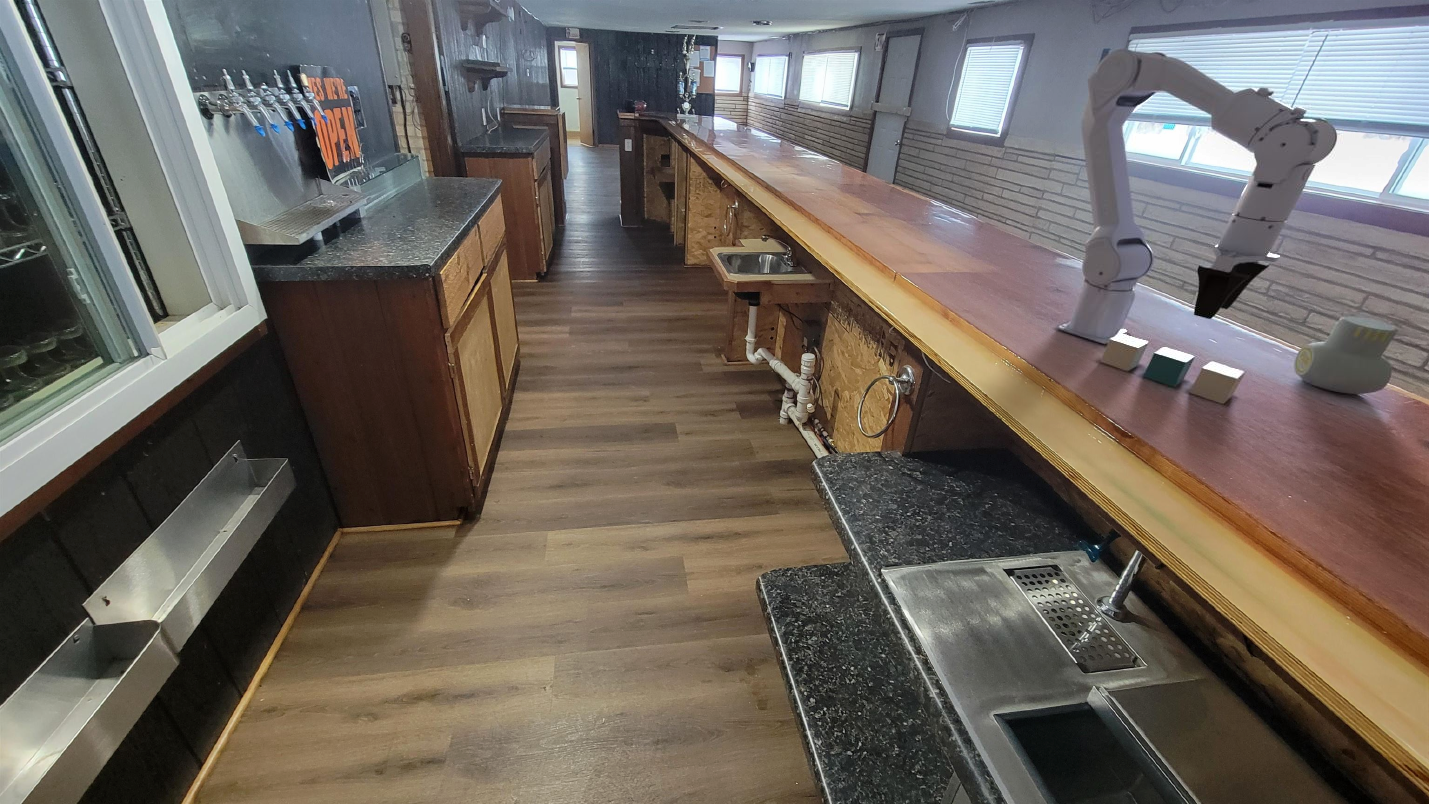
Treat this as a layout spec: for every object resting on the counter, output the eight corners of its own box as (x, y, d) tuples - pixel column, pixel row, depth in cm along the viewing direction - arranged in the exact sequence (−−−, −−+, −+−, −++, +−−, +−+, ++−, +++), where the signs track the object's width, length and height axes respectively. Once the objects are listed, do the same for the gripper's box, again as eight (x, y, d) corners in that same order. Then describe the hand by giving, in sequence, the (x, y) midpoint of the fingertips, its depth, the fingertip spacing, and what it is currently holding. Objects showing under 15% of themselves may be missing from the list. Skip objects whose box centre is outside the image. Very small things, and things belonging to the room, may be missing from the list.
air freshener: (1378, 408, 79) (1425, 342, 74) (1300, 391, 83) (1341, 327, 78) (1354, 379, 87) (1396, 318, 82) (1285, 365, 91) (1321, 306, 86)
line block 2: (1198, 385, 83) (1211, 361, 81) (1231, 396, 80) (1245, 371, 78) (1189, 392, 81) (1202, 367, 79) (1222, 404, 78) (1237, 378, 76)
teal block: (1152, 370, 87) (1164, 346, 85) (1183, 380, 84) (1195, 356, 82) (1142, 376, 85) (1154, 352, 83) (1173, 387, 82) (1185, 362, 80)
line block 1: (1110, 356, 91) (1120, 333, 89) (1138, 365, 89) (1148, 342, 87) (1100, 361, 89) (1109, 338, 87) (1127, 371, 86) (1138, 347, 84)
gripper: (1283, 229, 70) (1229, 330, 77) (1309, 218, 78) (1258, 311, 85) (1214, 218, 75) (1169, 314, 82) (1246, 208, 83) (1202, 297, 89)
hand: (1211, 311), depth 83 cm, fingers open, 7 cm apart
